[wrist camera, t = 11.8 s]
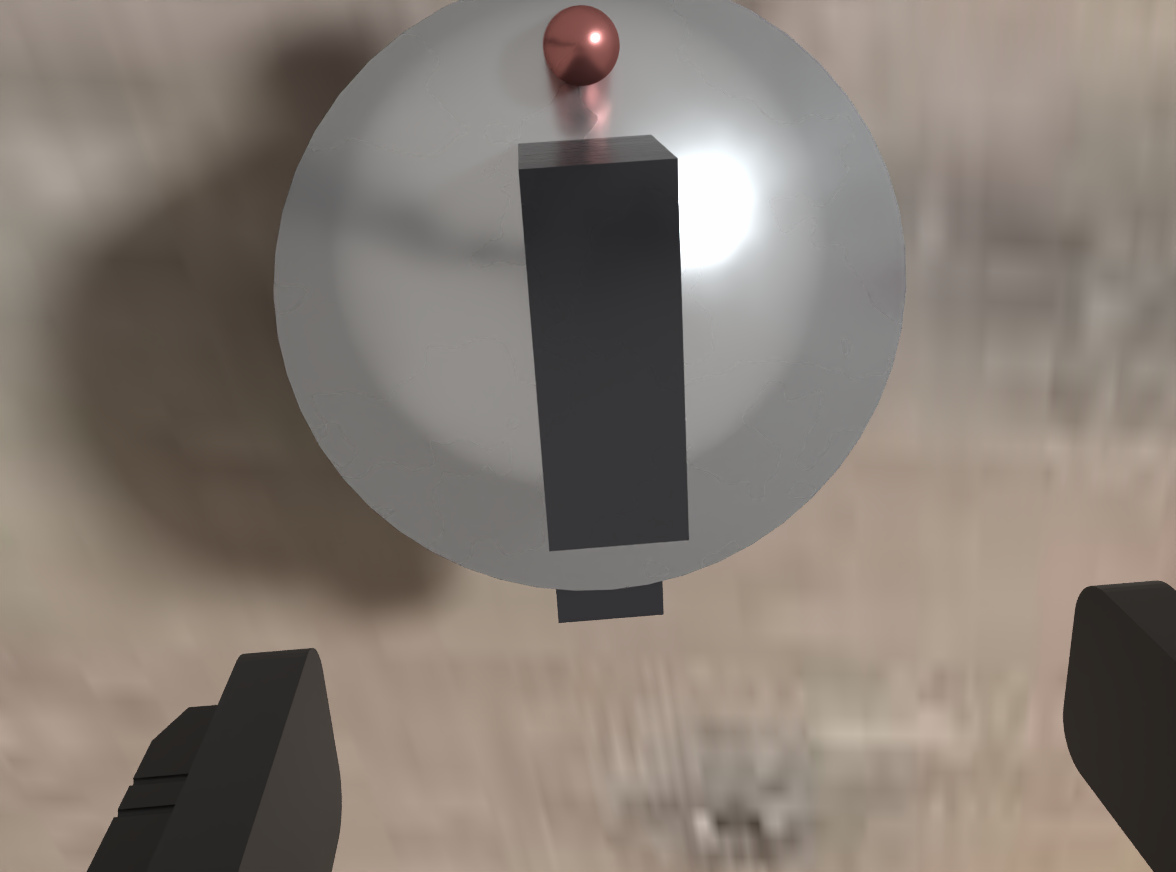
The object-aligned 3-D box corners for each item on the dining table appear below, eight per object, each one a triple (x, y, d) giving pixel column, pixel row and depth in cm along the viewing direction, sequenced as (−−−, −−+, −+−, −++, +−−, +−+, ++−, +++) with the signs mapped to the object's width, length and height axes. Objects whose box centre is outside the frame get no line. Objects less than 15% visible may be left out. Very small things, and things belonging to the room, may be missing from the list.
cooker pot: (391, 515, 39) (357, 653, 30) (313, -77, 32) (240, -109, 24) (790, 484, 39) (864, 611, 31) (796, -105, 32) (893, -147, 24)
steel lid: (331, 590, 30) (291, 713, 24) (234, -7, 24) (157, -13, 19) (879, 546, 30) (955, 657, 25) (903, -49, 25) (1006, -66, 20)
